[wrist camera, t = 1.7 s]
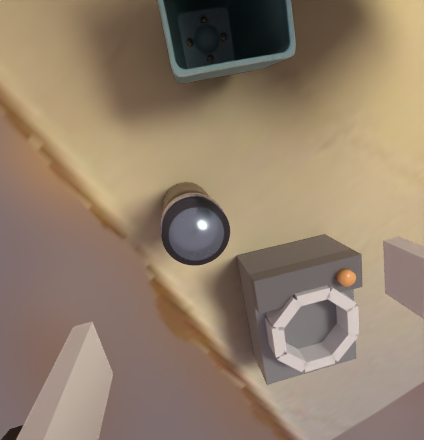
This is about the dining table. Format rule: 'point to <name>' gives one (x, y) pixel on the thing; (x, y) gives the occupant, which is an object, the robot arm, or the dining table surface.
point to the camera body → (301, 305)
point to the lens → (193, 225)
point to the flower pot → (235, 36)
